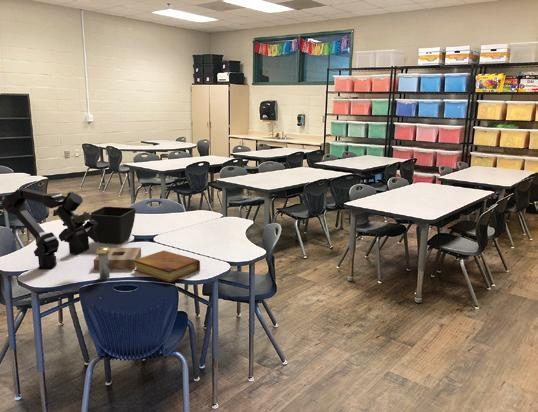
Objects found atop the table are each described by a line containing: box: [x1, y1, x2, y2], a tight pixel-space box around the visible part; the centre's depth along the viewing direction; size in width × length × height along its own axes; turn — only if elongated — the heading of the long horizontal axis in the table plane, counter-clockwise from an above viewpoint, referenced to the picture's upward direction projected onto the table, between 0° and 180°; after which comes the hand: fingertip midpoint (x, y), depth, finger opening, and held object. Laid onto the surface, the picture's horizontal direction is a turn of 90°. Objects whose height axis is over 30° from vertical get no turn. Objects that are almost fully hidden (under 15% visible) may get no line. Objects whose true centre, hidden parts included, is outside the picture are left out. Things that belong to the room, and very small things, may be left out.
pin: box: [96, 246, 111, 280], centre depth 199 cm, size 5×5×13 cm
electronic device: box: [68, 231, 90, 256], centre depth 233 cm, size 4×10×10 cm, turn 164°
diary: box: [133, 250, 201, 283], centre depth 209 cm, size 23×19×6 cm
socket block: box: [93, 247, 142, 271], centre depth 218 cm, size 18×18×4 cm
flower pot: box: [88, 206, 137, 245], centre depth 252 cm, size 19×19×17 cm
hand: (90, 244), depth 201 cm, fingers open, 9 cm apart
